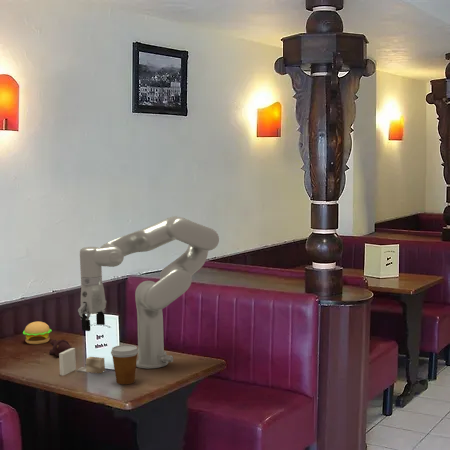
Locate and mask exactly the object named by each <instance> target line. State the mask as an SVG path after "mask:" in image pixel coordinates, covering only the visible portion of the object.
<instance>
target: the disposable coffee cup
mask: <svg viewBox="0 0 450 450" xmlns="http://www.w3.org/2000/svg"><path fill="white" fill-rule="evenodd" d="M110 355H111V356H112V361H113V362H112V363H113V368H114V374H115V381H116V383H117V384H118V385H131V384H133V383H135V381H136V371H137V369H136V368H137V367H136V362H137V359H138V346H136V345H134V344H121V345H115V346H113V347H112V348H111V351H110Z"/></svg>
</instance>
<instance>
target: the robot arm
mask: <svg viewBox="0 0 450 450" xmlns="http://www.w3.org/2000/svg"><path fill="white" fill-rule="evenodd" d="M219 237H220V236H219V234H218V233H217V231H216V230H214V229H213V228H211V227H209V226H205V225H203V224H200V223H198V222H195V221H192V220H189V219H187V218H184V217H181V216H178V215H175V216H173V215H172V216H171V217H167V218H165V219H163V220H160V221H158V222H156V223H154V224H151V225H149V226H147V227H144V228H142V229H140V230H136V231H134V232H131V233H128V234H124V235H122V236H120V237H118V238H117V237H116V238H115V239H112V240H110V241H108V242H106V243H104V244H103V245H101V246H100V247H98V246H86V247H82V248H81V249H80V250H79V264H80V265H79V267H80V287H81V288H80V289H81V290H80V307H79V308H78V309H77V312H78V315H79V316H78V317H80V321H81V330H82V332H90V331H91V320H90V317H91V314H92V315H95V317H96V325H98V326H104V325H106V323H105V322H106V321H105V314H106V308H107V307H106V306H107V300H106V294H105V288H104V284H103V274H102V273H103V272H102V271H103V270H102V267H107V268H109V267H110V268H111V267H112V268H114V267H118V266H120V265H121V264H122V263H123V261H124V259H125V258H124V257H126V256H128V255H132V254H134V253H144V252H149V251H153V250H155V249H157V248H159V247H161V246H164V245H166V244H168V243H171V242H173V241H175V240H177V241H179V242H182V243H184V244H187V245H188V247H187V249H186V250H185V251H184V252H183V253H182V254H181V255H179V257H178V258H176V259H175V260H173V261H172V262H171V263H170V264H168V265H167V266H165V267H163V269H161V271H160V274H159V280H158V281H156V282H155V281H153V280H144V281H142V282H140V283H139V284H138V285H137V286H136V289H135V293H134V295H135V296H134V298H135V306H136V317H137V345H138V346H137V349H138V354H137V356H138V358H137V362H136V368H139V369H149V370H151V369H159V368H163V367H166V366H167V365H168V364H169V363H173V362H174V356H173V355H167V351H165V350H164V347H165V345H164V342H165V341H164V317H163V315H164V314H163V309H165V308H166V307H168V306H169V305H171V304H172V303H174V301H176V300H177V299H178V298H179V297H181V296H182V295H184V293H186V292H187V291H188V289H190V287H191V285H192V280H193V279H192V276H193V275H194V274H195V273H196V272H198V271H199V270H200V269H201V268H202V267H204V265H205V263H206V261H207V258H208V254H209V251H210V252H211V251H212V250H215V249H216V248H217V247H218V245H219V243H220V238H219Z"/></svg>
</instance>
